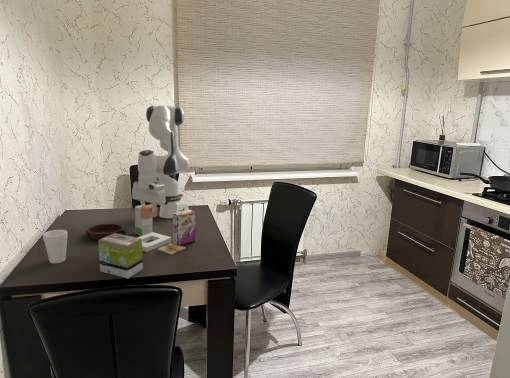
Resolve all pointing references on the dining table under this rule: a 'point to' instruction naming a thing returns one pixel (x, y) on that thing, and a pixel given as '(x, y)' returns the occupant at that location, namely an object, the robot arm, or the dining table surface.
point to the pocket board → (158, 241)
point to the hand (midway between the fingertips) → (148, 210)
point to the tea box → (120, 255)
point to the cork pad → (171, 248)
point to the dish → (104, 230)
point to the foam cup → (56, 245)
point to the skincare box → (142, 223)
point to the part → (147, 212)
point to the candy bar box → (183, 227)
